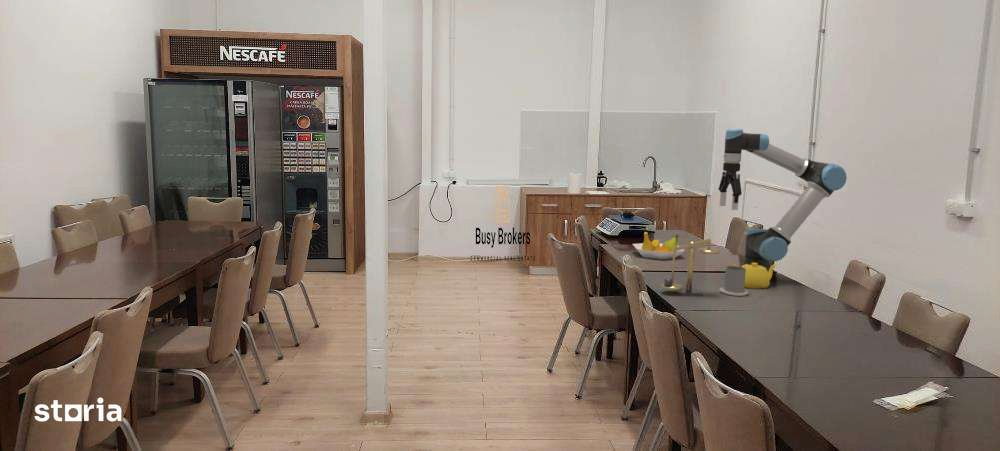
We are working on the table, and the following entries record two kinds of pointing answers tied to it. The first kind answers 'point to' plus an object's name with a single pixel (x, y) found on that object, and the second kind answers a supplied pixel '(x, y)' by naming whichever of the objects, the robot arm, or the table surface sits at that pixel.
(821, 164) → the robot arm
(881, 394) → the table surface
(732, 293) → the dish
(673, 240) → the fruit
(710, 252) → the balance
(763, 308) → the table surface
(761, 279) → the teapot
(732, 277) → the cup
